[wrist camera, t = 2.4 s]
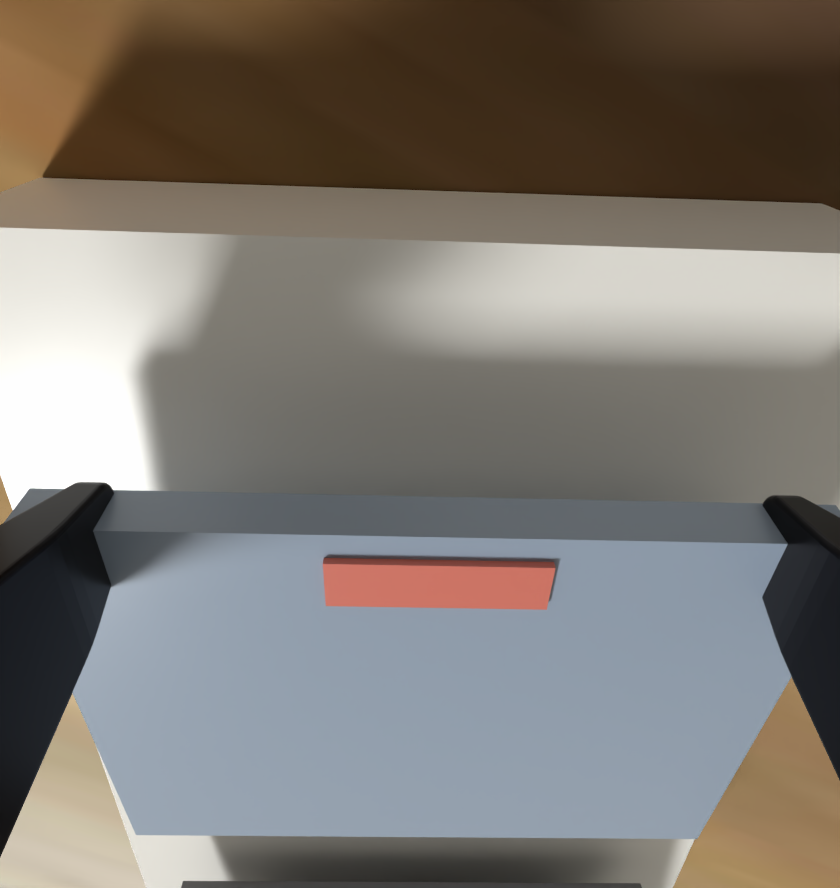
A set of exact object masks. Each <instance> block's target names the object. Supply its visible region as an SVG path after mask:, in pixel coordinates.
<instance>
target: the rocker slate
mask: <svg viewBox="0 0 840 888" xmlns="http://www.w3.org/2000/svg"><path fill="white" fill-rule="evenodd" d="M62 490H63V489H42V488H29V490H28V491H27V492H26V494H25V495H24V496H23V498H22V499H21V500H20V502H19V503H18V504H17V506H16V507H15V508H14V510H13V511H12V513H11V514H10V515H9V517H8V518H7V519H6V521H5V522H7V521H8V520H10V519H12V518H14V517H15V516H17V515H19V514H21V513H23V512H24V511H26V510H28V509H30V508H31V507H33V506H35V505H37V504H39V503H40V502H42V501H44V500H46V499H47V498H49V497H51V496H53V495H55V494H56V493H58V492H60V491H62ZM113 491H114V495H113V496H112V498H111V500H110V502H109V503H108V505H107V507H106V509H105V511H104V512H103V514H102V516H101V518H100V519H99V521H98V523H97V525H96V526H95V528H94V530H93V532H94V535H95V538H96V541H97V544H98V547H99V550H100V553H101V556H102V559H103V562H104V565H105V568H106V571H107V574H108V577H109V580H110V583H111V588H110V592H109V595H108V598H107V602H106V605H105V608H104V612H103V615H102V618H101V621H100V625H99V628H98V631H97V634H96V637H95V640H94V643H93V646H92V648H91V650H90V653H89V655H88V658H87V660H86V663H85V665H84V667H83V669H82V672H81V674H80V676H79V679H78V681H77V683H76V685H75V688H74V690H73V692H72V693H73V695H74V697H75V700H76V702H77V704H78V706H79V708H80V711H81V713H82V715H83V717H84V720H85V722H86V724H87V726H88V729H89V731H90V733H91V735H92V738H93V740H94V742H95V744H96V747H97V749H98V751H99V753H100V755H101V758H102V760H103V762H104V764H105V767H106V769H107V771H108V773H109V776H110V778H111V780H112V782H113V785H114V787H115V789H116V791H117V794H118V796H119V798H120V800H121V803H122V805H123V807H124V809H125V811H126V814H127V816H128V818H129V820H130V823H131V825H132V827H133V829H134V832H135V834H136V835H190V836H332V837H475V838H618V839H697V838H698V837H699V835H700V833H701V831H702V830H703V828H704V826H705V825H706V823H707V821H708V819H709V818H710V816H711V814H712V813H713V811H714V809H715V807H716V806H717V804H718V802H719V800H720V799H721V797H722V795H723V794H724V792H725V790H726V788H727V787H728V785H729V783H730V782H731V780H732V778H733V776H734V775H735V773H736V771H737V769H738V768H739V766H740V764H741V763H742V761H743V759H744V757H745V756H746V754H747V752H748V751H749V749H750V747H751V745H752V744H753V742H754V740H755V738H756V737H757V735H758V733H759V732H760V730H761V728H762V726H763V725H764V723H765V721H766V720H767V718H768V716H769V714H770V713H771V711H772V709H773V707H774V706H775V704H776V702H777V701H778V699H779V697H780V695H781V694H782V692H783V690H784V689H785V687H786V685H787V683H788V682H789V680H790V678H791V674H790V672H789V670H788V667H787V665H786V663H785V661H784V658H783V656H782V654H781V651H780V648H779V646H778V643H777V640H776V638H775V635H774V632H773V629H772V626H771V623H770V620H769V617H768V614H767V611H766V608H765V605H764V602H763V599H762V596H763V594H764V592H765V590H766V588H767V586H768V584H769V582H770V580H771V578H772V575H773V573H774V571H775V569H776V567H777V565H778V563H779V561H780V559H781V557H782V555H783V553H784V551H785V549H786V547H787V545H788V543H787V542H786V540H785V539H784V537H783V536H782V534H781V533H780V531H779V530H778V528H777V527H776V525H775V524H774V522H773V521H772V519H771V518H770V516H769V515H768V513H767V512H766V510H765V509H764V507H763V505H762V504H763V503H721V502H672V501H624V500H575V499H527V498H479V497H430V496H382V495H333V494H285V493H236V492H188V491H139V490H113ZM816 505H818V504H816ZM818 506H820V507H822V508H823V509H825V510H827V511H829V512H831V513H833V514H834V515H836V516H838V517H840V510H839V509H838V507H837V506H836V505H818ZM5 522H4V523H5Z"/></svg>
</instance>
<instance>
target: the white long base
mask: <svg viewBox="0 0 840 888" xmlns="http://www.w3.org/2000/svg"><path fill="white" fill-rule="evenodd" d="M0 475H1V478H2V481H3V483H4V486H5V489H6V492H7V495H8V498H9V500H10V503H11V506H12V509H13V510H14V508H15V507H16V506H17V504H18V503H19V502H20V500H21V499H22V498H23V496H24V495H25V494H26V492H27V491H28V490H29V488H42V489H65V488H67V487H69V486H71V485H72V484H74V483H77V482H105V483H107V484H109V485H110V486H111V487H112V489H113V490H139V491H188V492H236V493H285V494H333V495H382V496H430V497H479V498H527V499H575V500H624V501H672V502H721V503H763V502H764V501H765V500H766V498H768V497H769V496H772V495H795V496H801V497H803V498H805V499H807V500H809V501H811V502H812V503H814V504H818V505H836V506H837V507H838V509H839V510H840V210H837V209H834V208H832V207H829V206H827V205H824V204H822V203H792V202H762V201H731V200H701V199H670V198H640V197H609V196H579V195H549V194H518V193H488V192H457V191H427V190H397V189H366V188H336V187H305V186H275V185H244V184H214V183H184V182H153V181H123V180H92V179H62V178H38V179H35V180H32V181H30V182H27V183H24V184H22V185H19V186H16V187H13V188H11V189H8V190H5V191H3V192H0ZM97 750H98V749H97ZM98 753H99V751H98ZM99 756H100V758H101V755H100V753H99ZM101 761H102V764H103V767H104V770H105V773H106V775H107V778H108V781H109V784H110V787H111V790H112V792H113V795H114V798H115V801H116V804H117V807H118V809H119V812H120V815H121V818H122V821H123V824H124V826H125V829H126V832H127V835H128V838H129V841H130V843H131V846H132V849H133V852H134V855H135V858H136V861H137V863H138V866H139V869H140V872H141V875H142V878H143V880H144V883H145V886H146V888H181V886H182V883H183V881H301V882H492V883H640V884H641V887H642V888H673V886H674V884H675V881H676V879H677V877H678V875H679V873H680V870H681V868H682V866H683V864H684V862H685V859H686V857H687V855H688V853H689V850H690V848H691V846H692V844H693V842H694V839H618V838H475V837H332V836H190V835H136V834H135V832H134V829H133V827H132V825H131V823H130V820H129V818H128V816H127V814H126V811H125V809H124V807H123V805H122V803H121V800H120V798H119V796H118V794H117V791H116V789H115V787H114V785H113V782H112V780H111V778H110V776H109V773H108V771H107V769H106V767H105V764H104V762H103V760H102V758H101Z"/></svg>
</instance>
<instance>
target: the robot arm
mask: <svg viewBox="0 0 840 888" xmlns="http://www.w3.org/2000/svg"><path fill="white" fill-rule="evenodd" d="M113 495H114V491H113V489H112V487H111V486H110V485H109V484H107V483H105V482H77V483H74V484H72V485H71V486H69V487H67V488H65V489H63V490H62V491H60V492H58V493H56V494H55V495H53V496H51V497H49V498H47V499H46V500H44V501H42V502H40V503H39V504H37V505H35V506H33V507H31V508H30V509H28V510H26V511H24V512H23V513H21V514H19V515H17V516H15V517H14V518H12V519H10V520H8V521H7V522H5V523H3V524H1V525H0V857H1V854H2V852H3V850H4V848H5V845H6V843H7V841H8V838H9V836H10V834H11V832H12V829H13V827H14V825H15V822H16V820H17V818H18V816H19V813H20V811H21V809H22V806H23V804H24V802H25V800H26V797H27V795H28V793H29V790H30V788H31V786H32V784H33V781H34V779H35V777H36V775H37V772H38V770H39V768H40V765H41V763H42V761H43V759H44V756H45V754H46V752H47V749H48V747H49V745H50V743H51V740H52V738H53V736H54V733H55V731H56V729H57V727H58V724H59V722H60V720H61V717H62V715H63V713H64V711H65V708H66V706H67V704H68V701H69V699H70V697H71V695H72V692H73V690H74V688H75V685H76V683H77V681H78V679H79V676H80V674H81V672H82V669H83V667H84V665H85V663H86V660H87V658H88V655H89V653H90V650H91V648H92V646H93V643H94V640H95V637H96V634H97V631H98V628H99V625H100V621H101V618H102V615H103V612H104V608H105V605H106V602H107V598H108V595H109V592H110V588H111V583H110V580H109V577H108V574H107V571H106V568H105V565H104V562H103V559H102V556H101V553H100V550H99V547H98V544H97V541H96V538H95V535H94V532H93V530H94V528H95V526H96V525H97V523H98V521H99V519H100V518H101V516H102V514H103V512H104V511H105V509H106V507H107V505H108V503H109V502H110V500H111V498H112V496H113ZM762 505H763V507H764V509H765V510H766V512H767V513H768V515H769V516H770V518H771V519H772V521H773V522H774V524H775V525H776V527H777V528H778V530H779V531H780V533H781V534H782V536H783V537H784V539H785V540H786V542H787V543H788V545H787V547H786V549H785V551H784V553H783V555H782V557H781V559H780V561H779V563H778V565H777V567H776V569H775V571H774V573H773V575H772V578H771V580H770V582H769V584H768V586H767V588H766V590H765V592H764V594H763V596H762V599H763V602H764V605H765V608H766V611H767V614H768V617H769V620H770V623H771V626H772V629H773V632H774V635H775V638H776V640H777V643H778V646H779V648H780V651H781V654H782V656H783V658H784V661H785V663H786V665H787V667H788V670H789V672H790V674H791V676H792V678H793V681H794V683H795V685H796V687H797V689H798V691H799V694H800V696H801V698H802V700H803V702H804V704H805V706H806V709H807V711H808V713H809V715H810V717H811V719H812V722H813V724H814V726H815V728H816V730H817V732H818V734H819V737H820V739H821V741H822V743H823V745H824V747H825V750H826V752H827V754H828V756H829V758H830V760H831V763H832V765H833V767H834V769H835V771H836V773H837V775H838V778H839V780H840V517H838V516H836V515H834V514H833V513H831V512H829V511H827V510H825V509H823V508H822V507H820V506H818V505H816V504H814V503H812V502H811V501H809V500H807V499H805V498H803V497H801V496H795V495H772V496H769V497H768V498H766V500H765V501H764V502H763V504H762Z"/></svg>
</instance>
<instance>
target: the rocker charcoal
mask: <svg viewBox="0 0 840 888" xmlns="http://www.w3.org/2000/svg"><path fill="white" fill-rule="evenodd" d="M181 888H642V887H641V884H640V883H492V882H301V881H183V883H182V886H181Z"/></svg>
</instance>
